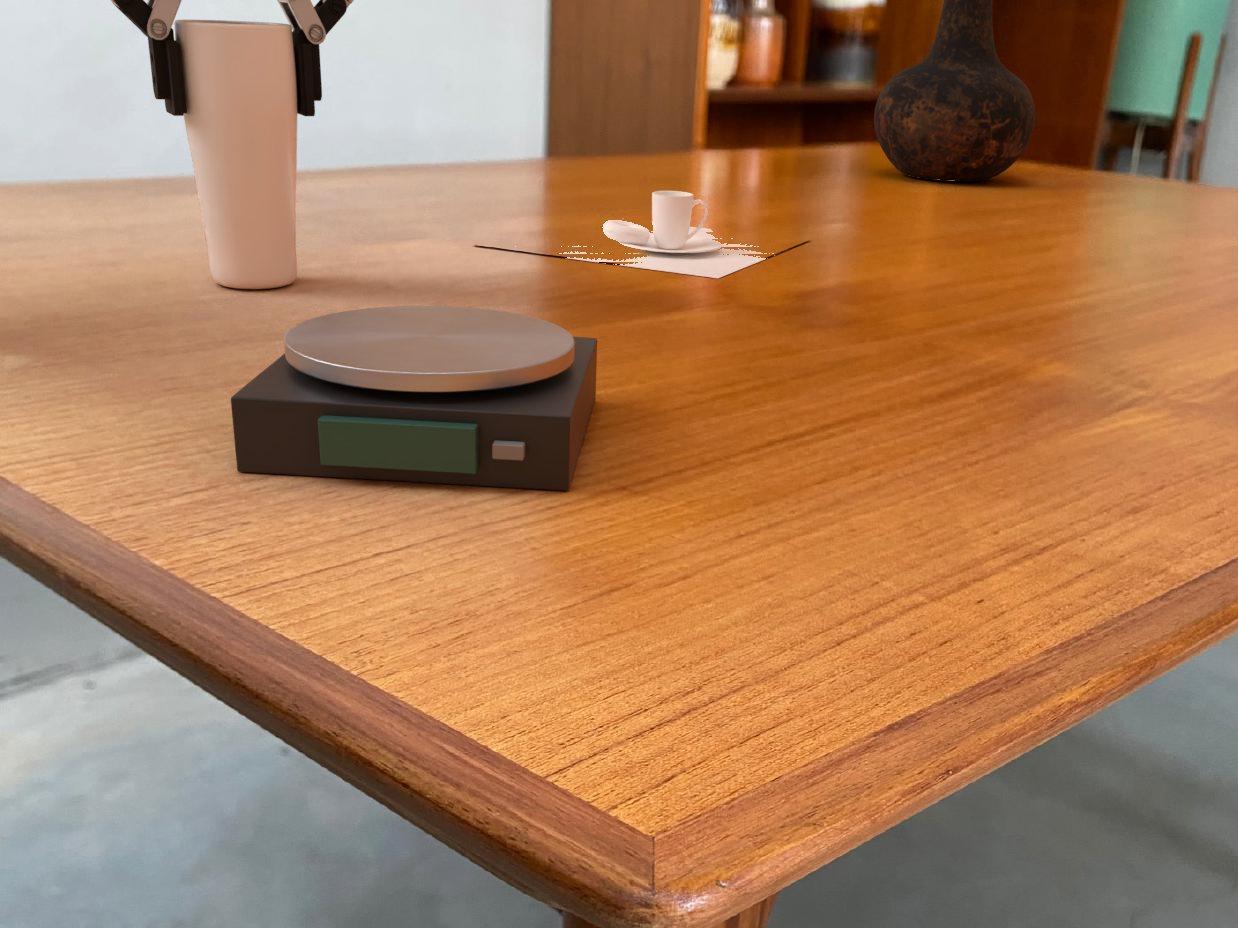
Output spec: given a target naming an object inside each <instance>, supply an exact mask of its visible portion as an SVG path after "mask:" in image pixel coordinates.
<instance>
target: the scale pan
mask: <svg viewBox="0 0 1238 928" xmlns="http://www.w3.org/2000/svg"><path fill="white" fill-rule="evenodd" d="M573 337H574V336H573V335H572V334H571V333H570V331H568V330H567V329H565V328H564V327H561V326H560V325H558V324H555V323H553V322H550V321H547V320H544V319H542V318H538V317H533V316H531V315H525V314H522V313H521V314H520V313H516V312H511V311H510V312H509V311H504V310H497V309H491V308H490V309H489V308H480V307H479V308H478V307H468V306H467V307H466V306H451V305H398V306H397V305H396V306H395V305H394V306H378V307H368V308H359V309H351V310H350V309H349V310H344V311H338V312H333V313H328V314H325V315H320V316H316V317H313V318H310V319H307V320H304V321H302V322H300V323H297V324H296V325H294V326H293V327H291V328H290V329H288V330H287V332H286V333H285V335H284V337H283V345H284V353H285V357H286V360H287V361H288V363H289V364H290V365H291V366H292V367H293V368H295V369H296V370H298V371H300V372H302V373H304V374H306V375H309V376H312V377H314V378H317V379H321V380H324V381H328V382H332V383H336V384H341V385H346V386H352V387H358V388H364V389H373V390H381V391H394V392H412V393H457V392H475V391H487V390H496V389H504V388H510V387H516V386H521V385H526V384H531V383H535V382H538V381H542V380H545V379H548V378H551V377H553V376H556V375H558V374H560V373H562V372H564V371H565V370H566V369H568V368H569V367H570V366H571V364H572V363H573V361H574V349H575V341H574V339H573Z"/></svg>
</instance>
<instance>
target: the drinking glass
mask: <svg viewBox="0 0 1238 928" xmlns="http://www.w3.org/2000/svg"><path fill="white" fill-rule="evenodd" d="M173 24H174V25H173V26H174V40H175V41H177V43H180V46H181V55H182V66H183V76H184V86H185V96H186V107H187V113H184V115H183V120H184V125H185V131H186V136H187V141H188V147H189V152H190V158H191V163H192V169H193V175H194V180H195V186H196V192H197V197H198V202H199V208H200V214H201V220H202V225H203V232H204V237H205V244H206V250H207V252H206V253H207V262H208V270H209V276H210V277H211V279H212V281H213V282H214V283H216V284H218V285H220V286H222V287H225V288H231V289H239V290H268V289H276V288H281V287H286V286H288V285H290V284H292V283H294V281H295V280H296V278H297V277H298V276H297V275H298V261H297V246H296V245H297V234H296V233H297V231H296V230H297V165H298V161H297V160H298V159H297V158H298V113H297V77H296V64H295V53H294V44H293V36H292V32H293V30H292V27H291V25H290V24H289V23H282V22H281V23H280V22H268V21H267V22H264V21H247V20H225V19H220V20H219V19H176V20H174V22H173Z"/></svg>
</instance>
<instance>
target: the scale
mask: <svg viewBox="0 0 1238 928" xmlns="http://www.w3.org/2000/svg"><path fill="white" fill-rule="evenodd" d="M573 339H574V341H575V349H574V361H573V363H572V364H571V366H570V367H569V368H568V369H566V370H565V371H564V372H562V373H560V374H558V375H556V376H553V377H551V378H548V379H545V380H542V381H538V382H535V383H531V384H526V385H521V386H516V387H510V388H504V389H496V390H487V391H475V392H457V393H412V392H394V391H381V390H373V389H364V388H358V387H352V386H346V385H341V384H336V383H332V382H328V381H324V380H321V379H317V378H314V377H312V376H309V375H306V374H304V373H302V372H300V371H298V370H296V369H295V368H293V367H292V366H291V365H290V364H289V363H288V361H287V360H286V357H285V352H284V353H283V354H282V355H281V356H279V357H278V358H277V359H276V360H275V361H274V362H272V363H271V364H270V365H268V366H267V367H266V368H265V369H263V370H262V371H261V372H260V373H259V374H257V375H256V376H255V377H254V378H253V379H252V380H250V381H249V382H248V383H246V384H245V385H244V386H243V387H241V388H240V389H239V390H238V391H237V392H236V393H234V394H233V395H232V396H231V397H230V405H231V417H232V429H233V439H234V440H233V441H234V449H235V459H236V460H235V461H236V470H237V472H239V473H252V474H253V473H254V474H255V473H256V474H271V475H272V474H273V475H286V476H287V475H288V476H289V475H290V476H305V477H306V476H308V477H323V478H324V477H325V478H343V479H359V480H375V481H389V482H391V481H392V482H408V483H409V482H410V483H425V484H441V485H442V484H444V485H461V486H475V487H492V488H493V487H494V488H495V487H496V488H511V489H529V490H542V491H543V490H545V491H561V492H568V491H569V489H570V487H571V484H572V479H573V477H574V473H575V470H576V466H577V463H578V460H579V456H580V453H581V449H582V446H583V442H584V440H585V436H586V432H587V429H588V426H589V424H590V419H591V415H592V412H593V409H594V406H595V402H596V399H597V398H596V396H597V367H598V366H597V365H598V338H596V337H587V336H586V337H584V336H583V337H582V336H573Z"/></svg>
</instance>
